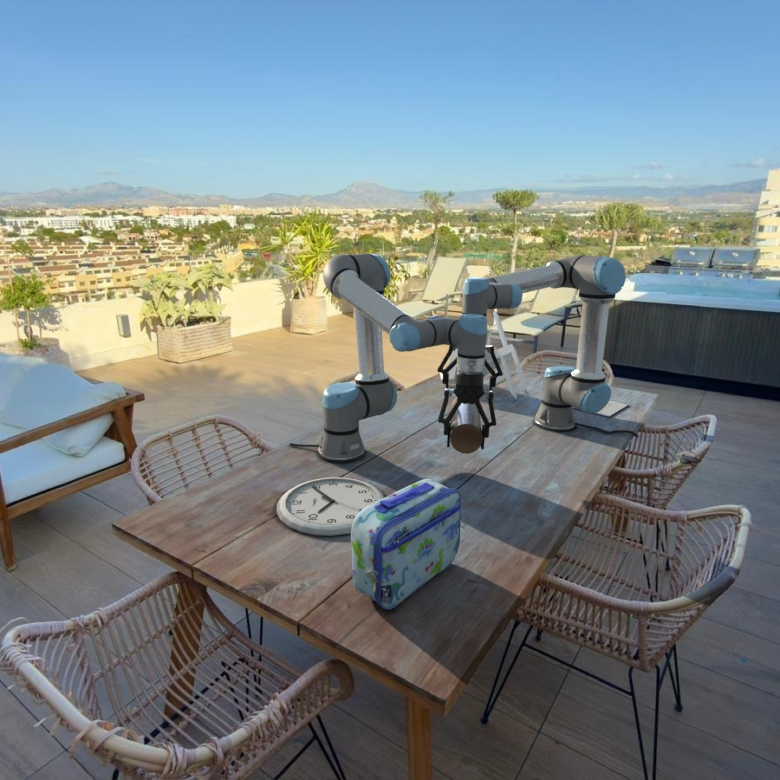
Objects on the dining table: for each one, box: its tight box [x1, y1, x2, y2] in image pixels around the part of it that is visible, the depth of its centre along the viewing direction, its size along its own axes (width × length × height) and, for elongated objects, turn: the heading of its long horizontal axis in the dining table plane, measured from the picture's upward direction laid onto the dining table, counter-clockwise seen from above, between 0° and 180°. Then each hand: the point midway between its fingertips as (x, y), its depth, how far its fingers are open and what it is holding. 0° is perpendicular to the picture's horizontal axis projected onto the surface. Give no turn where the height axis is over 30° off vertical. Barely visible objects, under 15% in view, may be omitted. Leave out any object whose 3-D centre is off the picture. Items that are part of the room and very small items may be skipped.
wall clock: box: [276, 476, 386, 537], centre depth 142 cm, size 30×2×30 cm
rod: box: [450, 396, 483, 455], centre depth 158 cm, size 27×9×9 cm, turn 173°
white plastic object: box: [439, 310, 531, 400], centre depth 245 cm, size 37×45×31 cm
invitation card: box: [573, 400, 629, 418], centre depth 226 cm, size 21×1×15 cm
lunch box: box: [350, 478, 462, 611], centre depth 110 cm, size 26×11×21 cm, turn 135°
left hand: (465, 446), depth 151 cm, fingers closed on rod, 9 cm apart
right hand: (467, 395), depth 166 cm, fingers open, 13 cm apart
